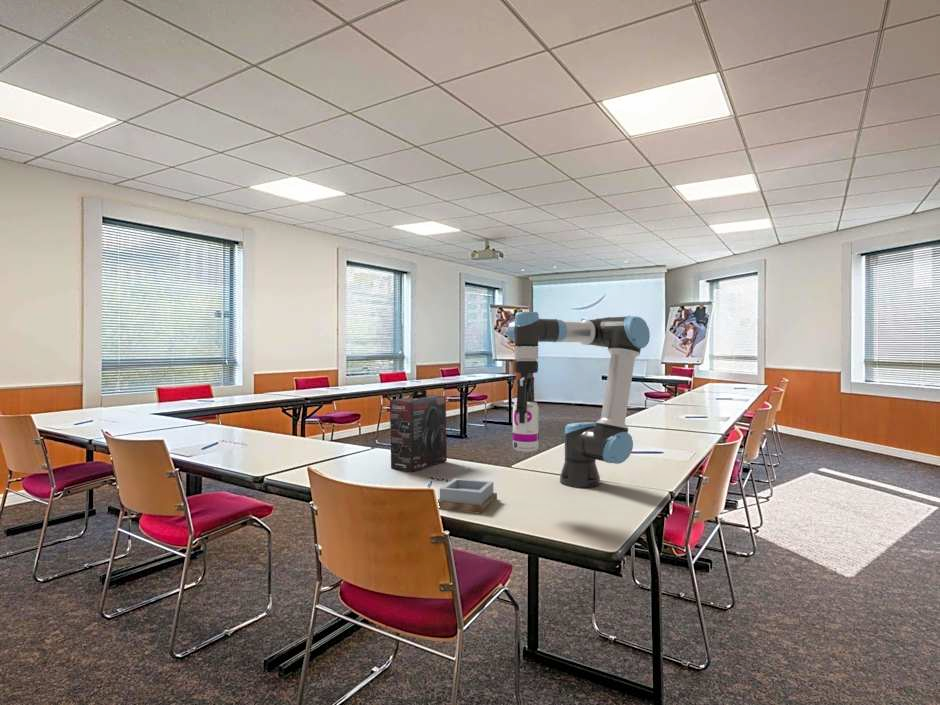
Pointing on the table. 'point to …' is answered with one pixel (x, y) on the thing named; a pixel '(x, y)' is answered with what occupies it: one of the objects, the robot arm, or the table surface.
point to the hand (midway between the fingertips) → (525, 431)
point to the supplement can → (532, 437)
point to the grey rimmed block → (466, 491)
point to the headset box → (418, 431)
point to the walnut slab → (468, 505)
